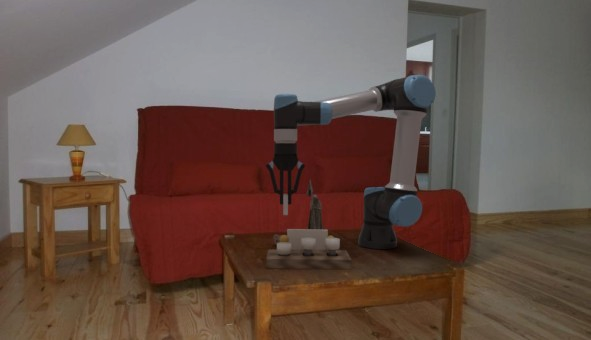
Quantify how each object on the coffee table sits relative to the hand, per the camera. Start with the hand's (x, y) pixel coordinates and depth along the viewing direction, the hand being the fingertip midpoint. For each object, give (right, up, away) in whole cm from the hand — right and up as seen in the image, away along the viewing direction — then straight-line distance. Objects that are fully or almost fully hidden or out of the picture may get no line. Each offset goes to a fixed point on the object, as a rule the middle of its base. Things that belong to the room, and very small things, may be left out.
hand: (285, 214), depth 140 cm
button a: (+15, -14, +1) cm, 21 cm away
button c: (-1, -16, +1) cm, 16 cm away
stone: (0, -15, +22) cm, 27 cm away
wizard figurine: (+11, -14, +38) cm, 42 cm away
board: (+7, -16, +1) cm, 18 cm away
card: (+7, -16, +8) cm, 19 cm away
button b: (+7, -14, +1) cm, 16 cm away
